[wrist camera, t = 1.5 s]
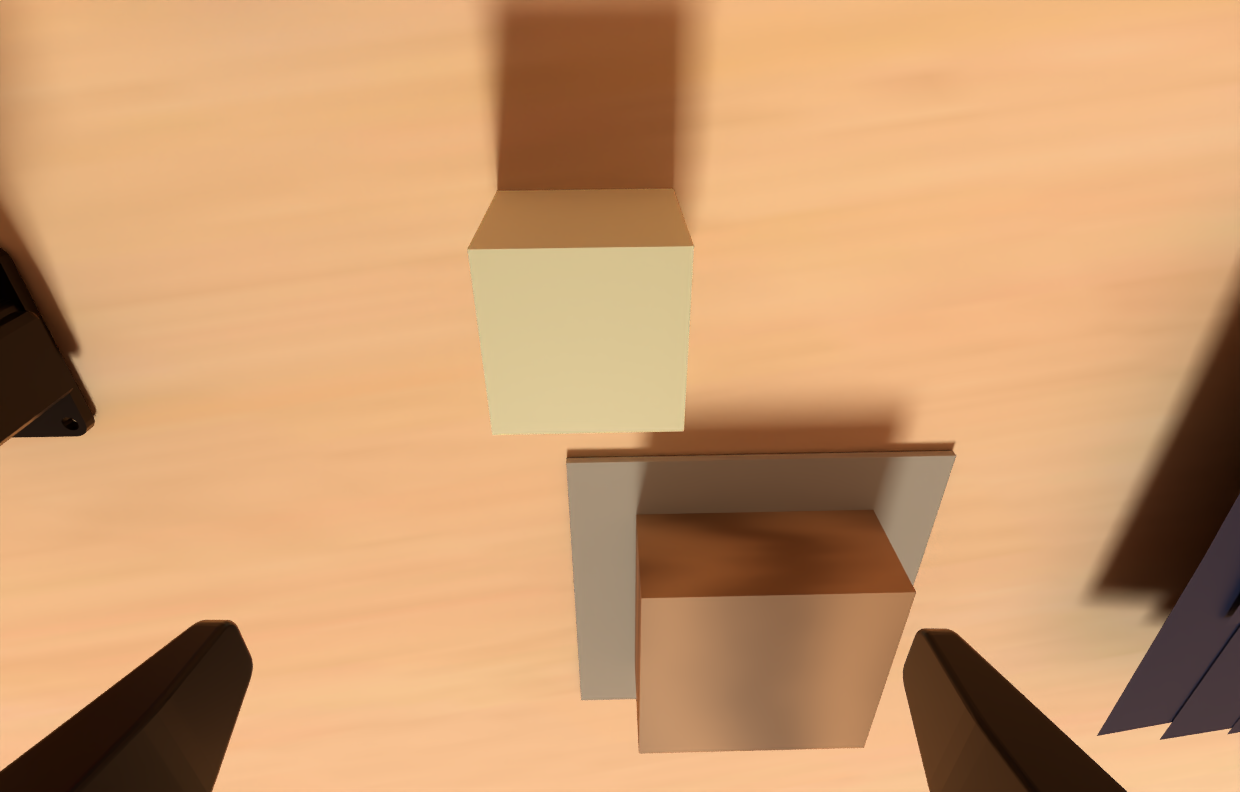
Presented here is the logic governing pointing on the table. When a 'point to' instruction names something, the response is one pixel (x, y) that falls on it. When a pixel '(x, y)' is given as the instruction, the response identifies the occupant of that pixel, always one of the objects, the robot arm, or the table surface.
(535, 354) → the cube
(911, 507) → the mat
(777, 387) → the table surface
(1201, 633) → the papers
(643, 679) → the plinth
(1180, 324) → the table surface
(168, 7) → the table surface
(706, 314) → the table surface
